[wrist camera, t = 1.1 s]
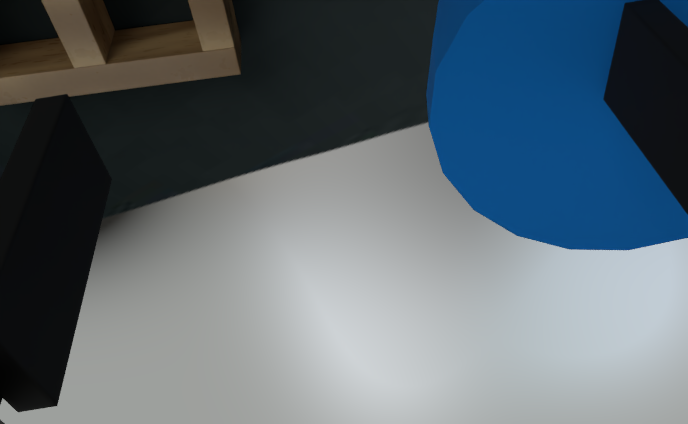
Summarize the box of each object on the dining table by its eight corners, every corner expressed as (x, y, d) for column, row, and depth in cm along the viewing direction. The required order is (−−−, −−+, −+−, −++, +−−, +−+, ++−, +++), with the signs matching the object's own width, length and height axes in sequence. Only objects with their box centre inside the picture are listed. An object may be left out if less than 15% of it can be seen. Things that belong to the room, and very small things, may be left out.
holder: (-113, -74, 34) (-143, -42, 32) (205, -114, 35) (202, -85, 32) (-20, 74, 42) (-39, 111, 39) (241, 40, 42) (241, 74, 39)
